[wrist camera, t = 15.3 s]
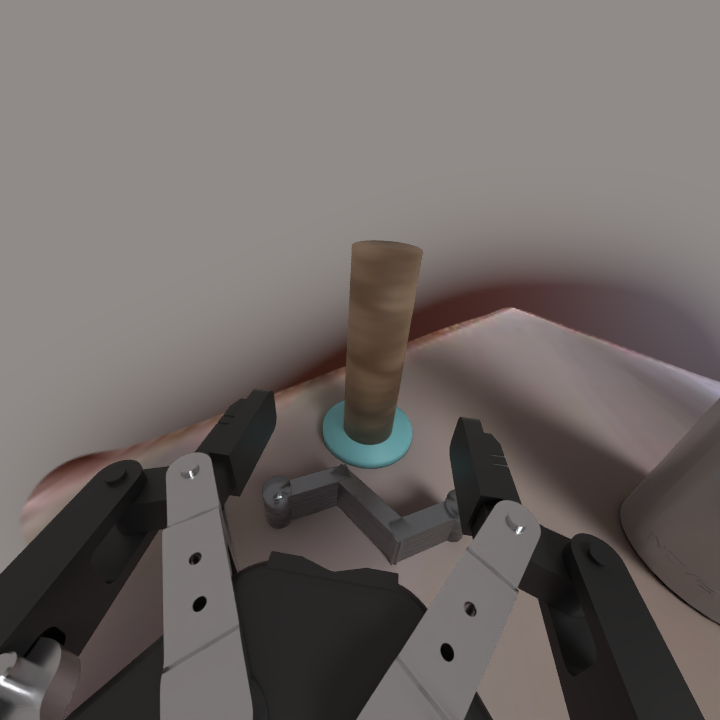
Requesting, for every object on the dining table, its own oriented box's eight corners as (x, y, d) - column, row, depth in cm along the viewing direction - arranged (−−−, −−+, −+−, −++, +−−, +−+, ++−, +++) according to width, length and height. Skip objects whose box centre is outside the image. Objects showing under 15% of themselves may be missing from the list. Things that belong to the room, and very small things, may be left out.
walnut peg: (384, 407, 30) (408, 241, 22) (399, 441, 26) (434, 256, 18) (339, 411, 29) (346, 239, 21) (348, 448, 25) (360, 255, 17)
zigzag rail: (453, 495, 23) (464, 469, 21) (472, 571, 19) (487, 545, 17) (277, 482, 23) (274, 454, 21) (255, 554, 19) (248, 527, 17)
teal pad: (394, 399, 33) (395, 393, 32) (425, 461, 26) (426, 454, 25) (318, 406, 31) (318, 400, 30) (329, 475, 24) (329, 469, 23)
